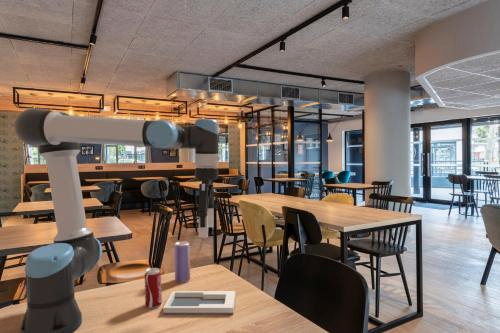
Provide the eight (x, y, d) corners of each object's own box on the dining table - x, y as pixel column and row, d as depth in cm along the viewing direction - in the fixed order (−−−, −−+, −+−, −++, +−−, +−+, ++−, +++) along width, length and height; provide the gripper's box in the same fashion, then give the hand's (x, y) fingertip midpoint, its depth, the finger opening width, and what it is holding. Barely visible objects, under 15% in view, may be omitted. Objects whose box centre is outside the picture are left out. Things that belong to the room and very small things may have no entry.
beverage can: (182, 284, 122) (182, 246, 122) (171, 281, 126) (171, 243, 125) (193, 279, 127) (192, 242, 127) (182, 276, 131) (182, 240, 130)
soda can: (156, 310, 103) (156, 273, 102) (142, 308, 104) (141, 272, 103) (164, 302, 108) (163, 267, 107) (150, 301, 109) (149, 266, 108)
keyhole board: (163, 314, 100) (163, 307, 100) (173, 297, 112) (172, 291, 112) (233, 314, 99) (233, 307, 99) (235, 297, 111) (235, 291, 111)
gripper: (213, 169, 91) (212, 242, 91) (222, 165, 115) (221, 223, 116) (187, 168, 91) (187, 242, 92) (201, 165, 116) (201, 223, 116)
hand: (206, 232), depth 104 cm, fingers open, 13 cm apart
